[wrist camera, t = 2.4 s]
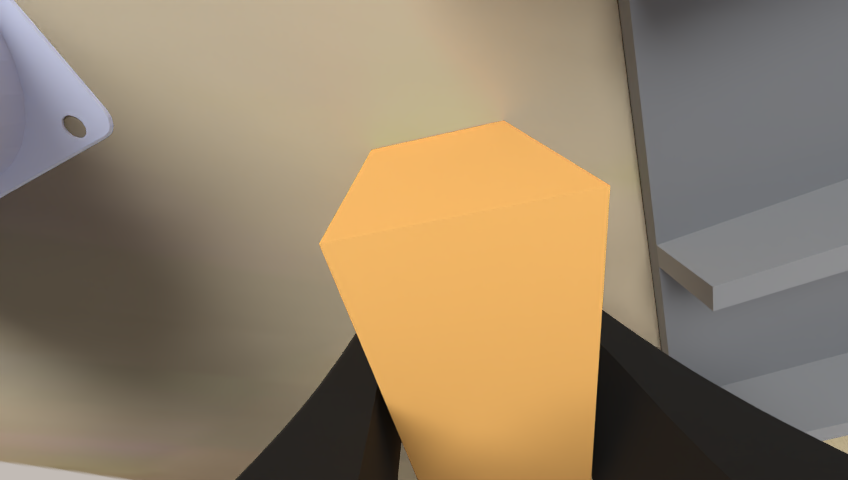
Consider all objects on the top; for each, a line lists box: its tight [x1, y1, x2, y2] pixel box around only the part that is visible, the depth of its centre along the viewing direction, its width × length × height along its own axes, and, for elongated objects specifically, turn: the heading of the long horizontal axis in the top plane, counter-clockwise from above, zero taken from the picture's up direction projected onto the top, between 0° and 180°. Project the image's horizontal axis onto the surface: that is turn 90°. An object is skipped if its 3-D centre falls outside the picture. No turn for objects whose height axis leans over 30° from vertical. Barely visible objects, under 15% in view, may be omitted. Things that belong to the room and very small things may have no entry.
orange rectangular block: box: [319, 121, 610, 480], centre depth 8 cm, size 9×3×5 cm, turn 12°
